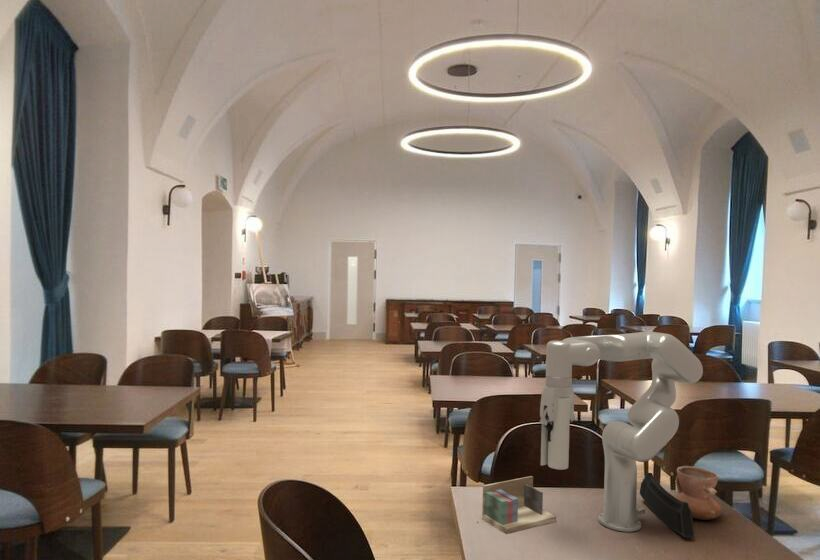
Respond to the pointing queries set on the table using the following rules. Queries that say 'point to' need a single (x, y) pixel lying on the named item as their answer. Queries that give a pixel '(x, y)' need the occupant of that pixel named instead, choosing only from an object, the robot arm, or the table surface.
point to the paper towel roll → (557, 438)
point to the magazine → (667, 507)
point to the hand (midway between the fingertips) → (557, 442)
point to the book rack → (514, 505)
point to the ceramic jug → (698, 491)
